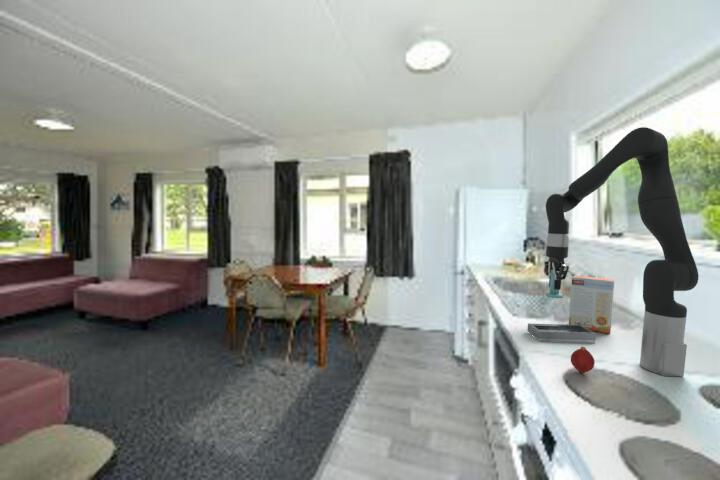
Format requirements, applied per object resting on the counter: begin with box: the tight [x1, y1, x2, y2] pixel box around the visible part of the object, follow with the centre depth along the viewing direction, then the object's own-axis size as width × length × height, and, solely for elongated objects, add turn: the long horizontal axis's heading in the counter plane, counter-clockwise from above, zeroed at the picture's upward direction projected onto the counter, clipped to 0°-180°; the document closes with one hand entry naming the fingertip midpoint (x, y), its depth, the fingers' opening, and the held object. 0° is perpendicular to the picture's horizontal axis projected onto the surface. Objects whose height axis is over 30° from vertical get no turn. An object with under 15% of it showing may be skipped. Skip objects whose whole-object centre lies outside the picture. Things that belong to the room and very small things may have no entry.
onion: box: [570, 346, 595, 374], centre depth 98 cm, size 6×6×8 cm
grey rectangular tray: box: [527, 323, 597, 344], centre depth 127 cm, size 9×20×4 cm, turn 88°
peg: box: [545, 271, 564, 299], centre depth 135 cm, size 6×6×10 cm
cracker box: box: [568, 275, 615, 335], centre depth 137 cm, size 14×6×21 cm, turn 52°
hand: (554, 288), depth 135 cm, fingers closed on peg, 3 cm apart
